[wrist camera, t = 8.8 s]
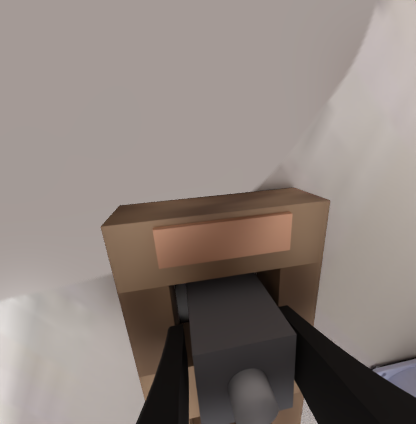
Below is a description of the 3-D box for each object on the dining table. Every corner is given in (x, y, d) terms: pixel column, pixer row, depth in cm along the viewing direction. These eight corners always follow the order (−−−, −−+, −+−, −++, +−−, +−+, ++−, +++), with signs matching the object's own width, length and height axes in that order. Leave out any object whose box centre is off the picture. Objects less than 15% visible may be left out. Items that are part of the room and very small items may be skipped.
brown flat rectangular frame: (294, 187, 12) (335, 202, 9) (277, 416, 19) (297, 468, 16) (119, 205, 11) (98, 229, 8) (170, 443, 18) (170, 505, 15)
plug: (245, 259, 13) (313, 359, 7) (246, 309, 15) (307, 437, 8) (184, 268, 13) (194, 385, 6) (191, 319, 14) (205, 466, 7)
